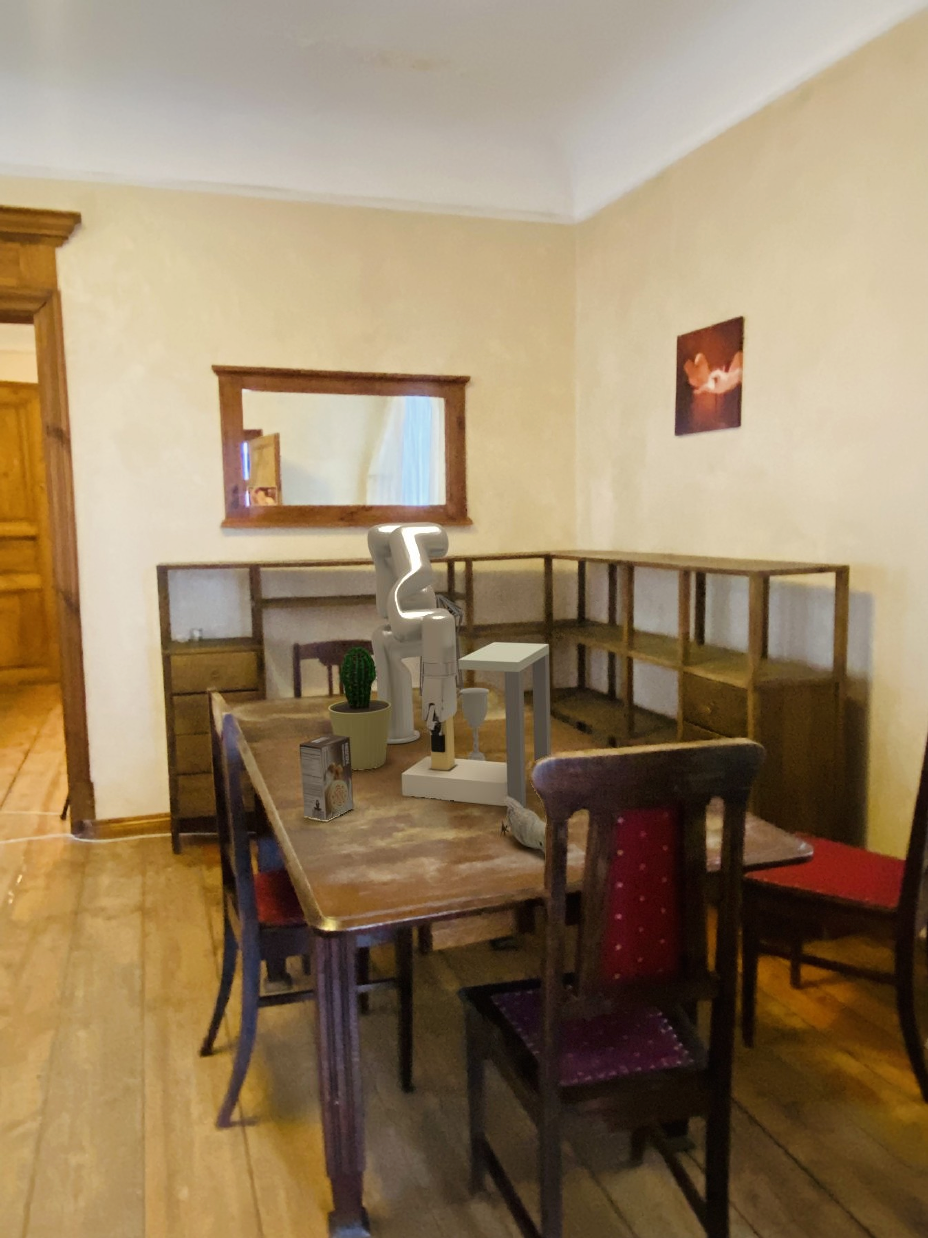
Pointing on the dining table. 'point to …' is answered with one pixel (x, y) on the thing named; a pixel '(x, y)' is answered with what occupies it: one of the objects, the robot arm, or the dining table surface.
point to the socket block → (458, 781)
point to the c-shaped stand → (519, 702)
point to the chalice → (475, 714)
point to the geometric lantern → (455, 610)
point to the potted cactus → (361, 711)
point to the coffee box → (326, 776)
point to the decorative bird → (524, 825)
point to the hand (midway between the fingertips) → (442, 748)
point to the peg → (446, 758)
